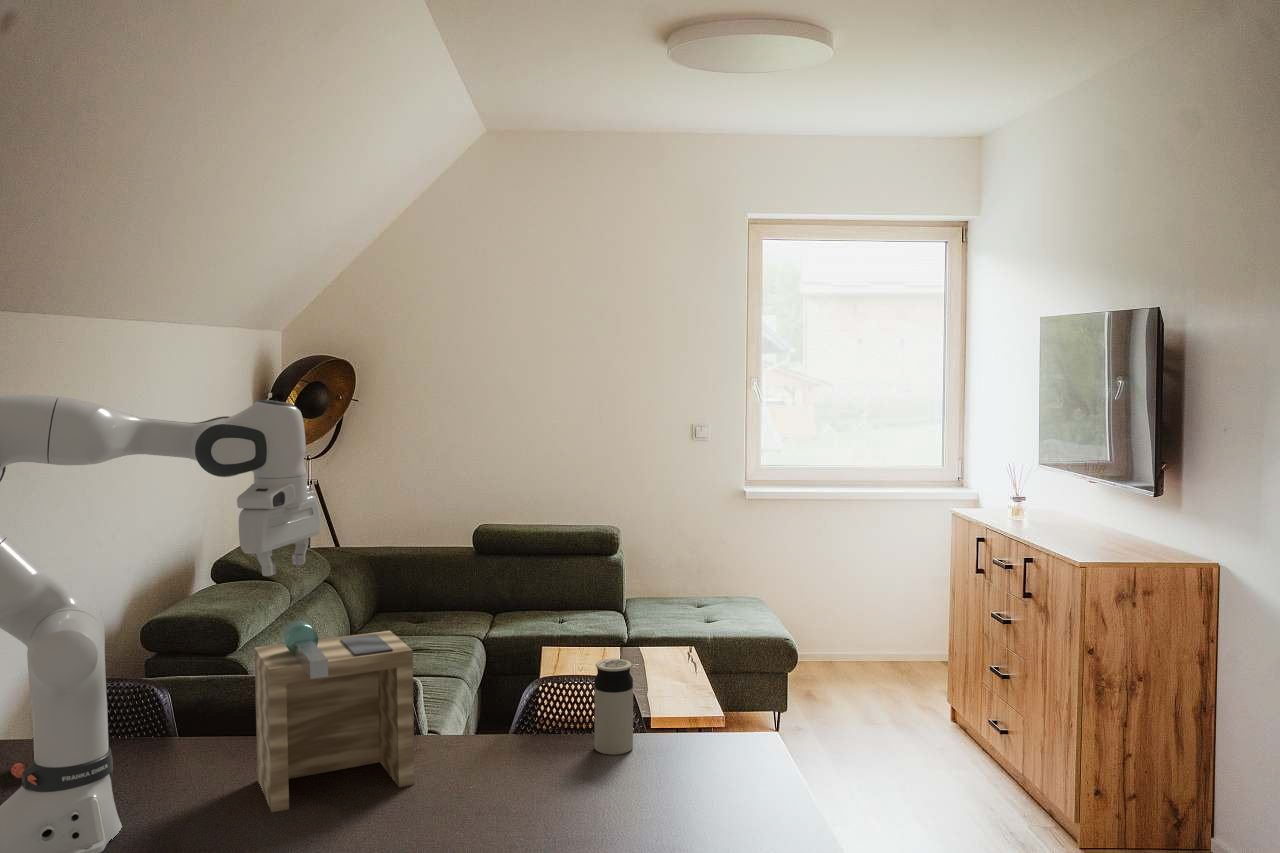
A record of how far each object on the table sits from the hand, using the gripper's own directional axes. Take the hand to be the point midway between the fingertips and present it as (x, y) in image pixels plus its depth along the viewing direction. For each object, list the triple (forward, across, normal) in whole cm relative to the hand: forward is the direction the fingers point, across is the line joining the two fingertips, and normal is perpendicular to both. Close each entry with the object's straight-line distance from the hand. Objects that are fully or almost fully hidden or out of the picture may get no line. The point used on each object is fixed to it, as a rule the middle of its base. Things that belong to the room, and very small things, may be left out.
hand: (284, 569), depth 184 cm
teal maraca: (+18, -4, +2) cm, 18 cm away
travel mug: (+45, -42, +48) cm, 78 cm away
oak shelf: (+44, -13, +1) cm, 46 cm away
